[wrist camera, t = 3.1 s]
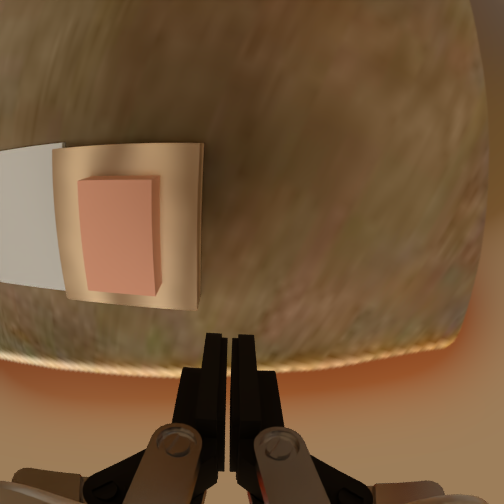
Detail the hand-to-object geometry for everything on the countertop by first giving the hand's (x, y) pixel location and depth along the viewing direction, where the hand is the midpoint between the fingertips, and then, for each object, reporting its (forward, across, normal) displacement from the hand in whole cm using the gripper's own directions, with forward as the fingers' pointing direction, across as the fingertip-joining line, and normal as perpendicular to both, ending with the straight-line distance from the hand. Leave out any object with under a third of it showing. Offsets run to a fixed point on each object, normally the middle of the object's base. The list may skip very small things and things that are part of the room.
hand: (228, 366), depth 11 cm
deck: (+18, +9, 0) cm, 20 cm away
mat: (+18, +22, 0) cm, 28 cm away
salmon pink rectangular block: (+14, +9, 0) cm, 16 cm away
